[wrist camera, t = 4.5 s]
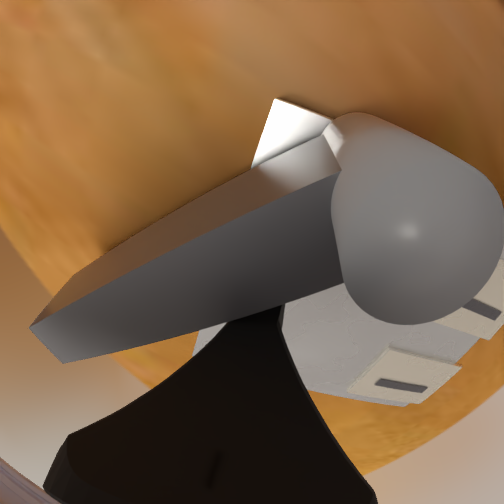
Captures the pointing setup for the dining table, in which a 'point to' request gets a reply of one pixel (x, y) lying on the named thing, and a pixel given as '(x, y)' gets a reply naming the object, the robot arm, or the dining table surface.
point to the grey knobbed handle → (295, 244)
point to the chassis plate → (362, 324)
